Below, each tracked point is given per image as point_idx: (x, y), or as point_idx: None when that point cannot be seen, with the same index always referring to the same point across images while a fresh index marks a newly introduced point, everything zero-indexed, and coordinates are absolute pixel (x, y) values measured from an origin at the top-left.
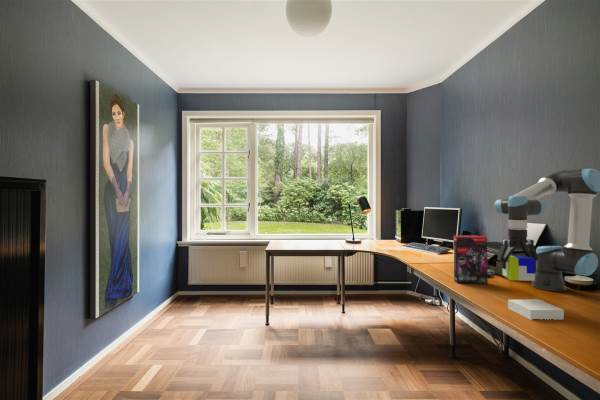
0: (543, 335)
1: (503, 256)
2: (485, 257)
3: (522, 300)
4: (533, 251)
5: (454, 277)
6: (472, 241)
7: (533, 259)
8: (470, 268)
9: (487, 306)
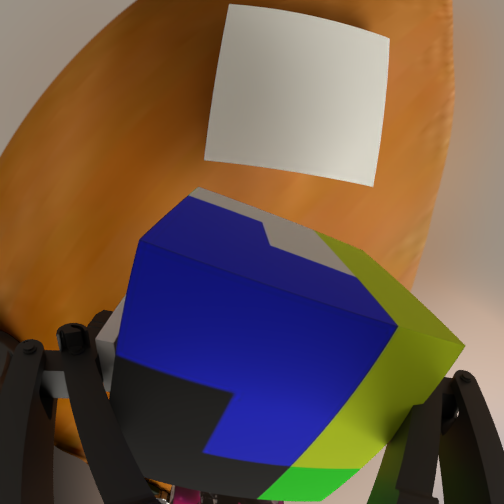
0: None
1: (468, 402)
2: None
3: (313, 156)
4: (24, 433)
5: None
6: None
7: (166, 241)
8: (238, 500)
9: (412, 224)
